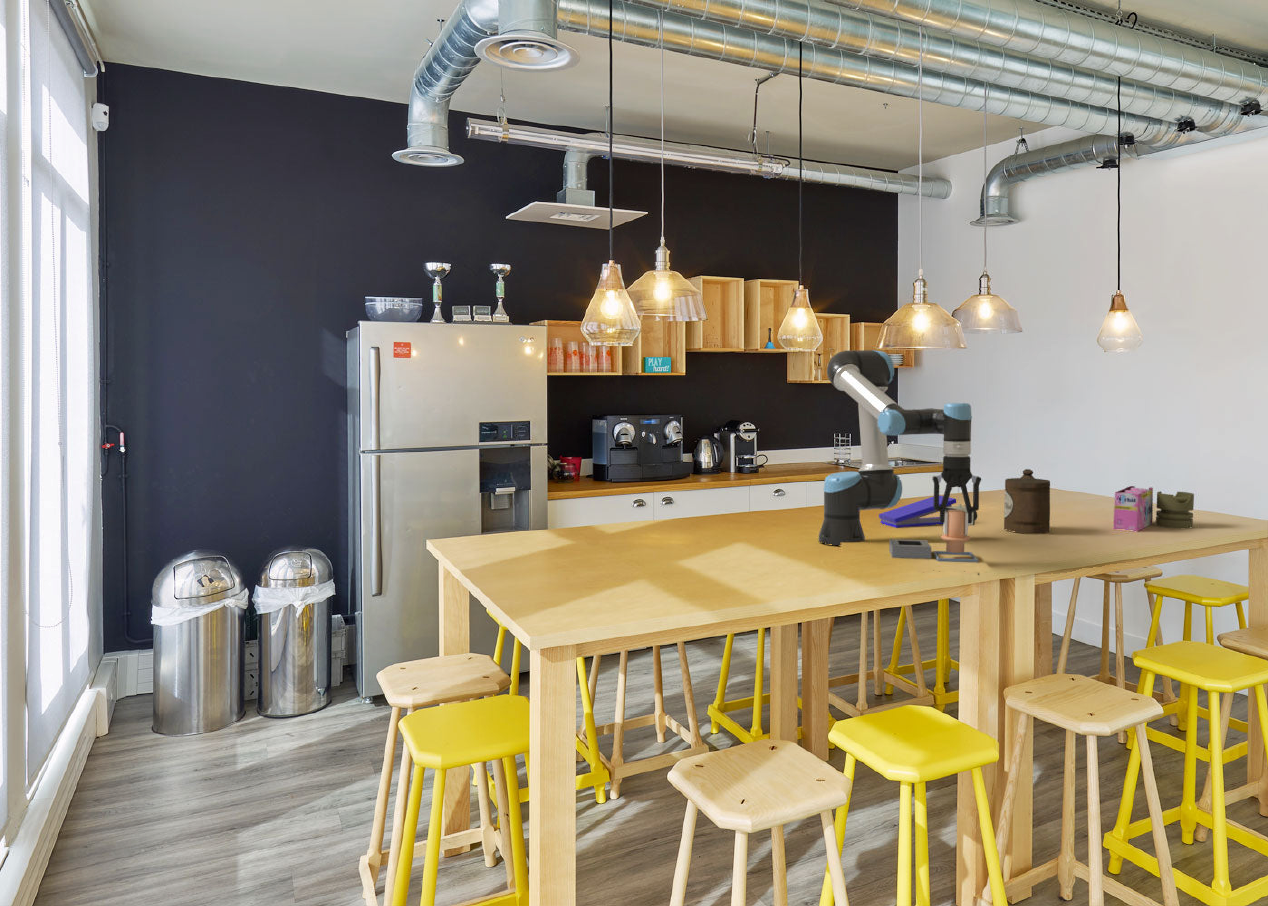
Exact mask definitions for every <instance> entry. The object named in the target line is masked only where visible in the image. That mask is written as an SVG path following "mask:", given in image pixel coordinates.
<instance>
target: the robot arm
mask: <svg viewBox="0 0 1268 906" xmlns="http://www.w3.org/2000/svg"><path fill="white" fill-rule="evenodd" d="M826 375H827V378H828V381H829V382H830V383H831V384H832V386H833V387H834V388H836V389H837V390H838V391H840V392H841V391H842V392H845V393H846V394H847V395H848V396H850V397H851V398H852V399H853V400H854V402H856V403H857V404H858V405H857V406H858V407H857V408H858V420H859V432H860V433H859V436H860V448H861V449H860V451H861V467H860V468H859V469H858V470H857V471H841V472H839V471H838V472H834V473H831V474H828V475H827V476H826V477H825V479H824V484H823V485H824V486H823V492H824V493H823V505H824V506H823V511H824V512H823V521H822V524H821V528H820V530H819V533H818V542H819V541H820V542H822V543H826V544H832V545H841V546H842V543H856V542H857V543H859V542H865V541H866V535H865V532H864V530H863V527H862V523H861V520H860V519H861V518H860V515H861V511H867V510H869V511H870V510H885V509H891V508H893V507H895V506H896V505H897V504H898V502H900V500H901V497H902V493H903V483H902V480H901V479H900V477H899V475H898V474H895V473H894V471H895V470H894V467H892V466H891V465H890V464H889V453H888V439H887V436H895V437H896V436H905V435H906V436H907V435H909V436H910V435H934V434H935V435H943V438H942V439H943V444H942V445H943V449H942V450H943V451H942V454H944V456H943V457H942V472H941V474H938V475H933V476H932V477H931V480H932V482H933V484H934V485H933V497H934V505H933V507H934V509H935V510H938V511H939V517H940V522H941V523H944V524H942V526H943V531H942V533H943V535H945V534H947V526H948V512H947V511H945V509H946V506H947V502H948V499H949V498H950V495H951V491H952V490H953V488H956V487H957V488H960V490H961V494H962V498H963V501H964V506H966V509H967V512H965V535H967V536H969V535H968V534H969V532H968V531H969V526H968V523H971V522H972V512H973V511H976V512H977V511H979V510H980V484H981V482H982V478H981V476H976V475H973V474H972V471H971V459H972V458H971V456H970V455H971V451H972V450H971V449H972V448H971V447H972V446H971V445H972V444H971V443H972V439H971V438H972V419H973V418H972V417H973V416H972V406H971V404H970V403H968V402H948V403H945V404H944V405H943V409H942V408H941V409H940V408H921V409H917V408H916V409H915V408H914V409H904V408H903V407H902V406H900V405H899V404H898V403H896V401H895V400H893V399H892V398H891V397H889V396H888V395H887V394H886V393H885V392H886V391H887V390H888V388H889V384H890V383H891V382H892V381H893V379H894V377H895V376H894V375H895V366H894V362H893V360H892V358H891V356H890V355H888V353H886V352H884V351H882V350H874V349H872V350H870V349H869V350H863V349H862V350H843V351H842V350H841V351H839V352H837V353H836V354H834V355H833V356H832V357H831V358H830V360H829V361H828V363H827V366H826ZM942 480H943V481H944V483H946V485H945V489H944V493H943V495H942V496H943V499H942V503H941V506H939V495H940V483H941V481H942ZM970 480H971V482H972V483H973V485H972V503H971V500H970V497H969V496H970V495H969V492H968V487H967V484H968V483H969V481H970ZM820 542H819V543H820ZM822 543H821V544H822ZM826 544H825V545H826ZM832 545H831V546H832Z"/></svg>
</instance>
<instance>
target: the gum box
mask: <svg viewBox="0 0 1268 906" xmlns="http://www.w3.org/2000/svg"><path fill="white" fill-rule="evenodd" d="M1153 493H1154V488H1153V486H1151V487H1149V488H1143V487H1142V488H1141V487H1136V486H1135V485H1132V486H1131V485H1130V486H1127V487H1125V488H1123V489H1121V490H1118V491H1115V492H1114V503H1113V504H1114V509H1113V513H1114V514H1113V530H1114V529H1125V530H1133V531H1132V532H1134V531H1138V532H1139V531H1141V530H1144V529H1145V528H1146V527H1148V526H1150V525H1152V524H1153V517H1154V516H1153V513H1154V512H1153V511H1154V509H1153V507H1154V505H1153V504H1154V503H1153V499H1154V496H1153V495H1154V494H1153Z"/></svg>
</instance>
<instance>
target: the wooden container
mask: <svg viewBox="0 0 1268 906" xmlns="http://www.w3.org/2000/svg"><path fill="white" fill-rule="evenodd" d="M1033 474H1034V472H1033V470H1031V469H1029V468H1027V469H1025V468H1024V470H1023V471H1022V475H1021V477H1012V478H1010V477H1009V478H1006V479H1005V480H1004V487H1005V489H1004V507H1003V514H1004V515H1003V518H1004V519H1003V529H1004V530H1005V529H1007V530H1010V531H1015V532H1021V533H1020V534H1024V533H1043V534H1047V533H1046V532H1048V533H1050V530H1051V529H1050V528H1051V527H1050V526H1051V525H1050V524H1051V523H1050V522H1051V490H1050V489H1051V481H1050V480H1048V479H1043V478H1035V477H1034V476H1033ZM1010 531H1009V532H1010ZM1015 532H1014V533H1015Z"/></svg>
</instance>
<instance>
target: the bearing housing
mask: <svg viewBox="0 0 1268 906" xmlns="http://www.w3.org/2000/svg"><path fill="white" fill-rule="evenodd" d="M888 542H889V546H888V548H889V554H890V556H891V558H892V559H893V558H894V559H895V558H896V559H916V560H917V559H921V560H922V559H924V560H931V559H932V546H931V544H930V543H929V542H928V540H927V539H900V538H899V539H898V538H896V539H894V538H889V541H888Z"/></svg>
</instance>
